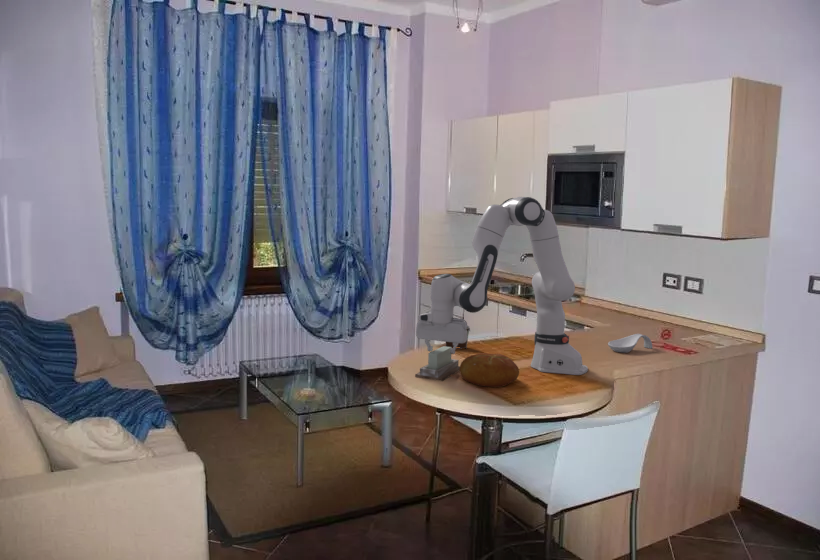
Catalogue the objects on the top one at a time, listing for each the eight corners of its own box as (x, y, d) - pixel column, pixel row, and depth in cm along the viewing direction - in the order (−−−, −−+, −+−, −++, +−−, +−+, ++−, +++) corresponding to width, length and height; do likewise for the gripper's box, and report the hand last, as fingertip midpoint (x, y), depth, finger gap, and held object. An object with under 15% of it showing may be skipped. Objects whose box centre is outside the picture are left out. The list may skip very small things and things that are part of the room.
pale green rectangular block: (451, 367, 265) (451, 347, 264) (436, 375, 252) (437, 354, 251) (442, 366, 266) (443, 346, 265) (427, 373, 254) (428, 353, 253)
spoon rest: (621, 355, 298) (622, 339, 297) (602, 350, 308) (603, 334, 307) (658, 350, 310) (659, 335, 309) (638, 345, 320) (639, 330, 319)
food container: (471, 346, 308) (472, 324, 307) (469, 349, 302) (470, 327, 301) (445, 344, 311) (446, 322, 310) (442, 346, 305) (443, 325, 304)
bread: (532, 381, 252) (534, 354, 251) (497, 393, 235) (498, 365, 233) (482, 369, 267) (483, 344, 266) (445, 380, 250) (446, 354, 248)
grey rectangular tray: (462, 369, 266) (462, 360, 265) (442, 381, 248) (442, 371, 248) (437, 365, 271) (437, 357, 270) (415, 376, 253) (415, 367, 253)
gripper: (470, 317, 255) (469, 353, 257) (421, 313, 264) (421, 347, 266) (464, 320, 249) (463, 357, 251) (414, 315, 258) (414, 351, 260)
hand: (441, 352), depth 258 cm, fingers open, 8 cm apart
